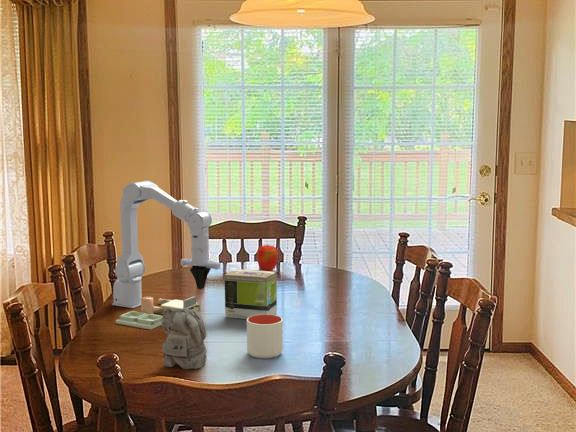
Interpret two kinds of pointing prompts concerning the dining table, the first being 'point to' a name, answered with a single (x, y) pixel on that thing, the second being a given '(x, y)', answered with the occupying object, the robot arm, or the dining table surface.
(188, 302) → the lid
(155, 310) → the plate
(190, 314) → the figurine
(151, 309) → the peg
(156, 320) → the socket board
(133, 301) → the robot arm
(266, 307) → the tea box
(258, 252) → the apple
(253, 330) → the cup
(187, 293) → the dining table surface
